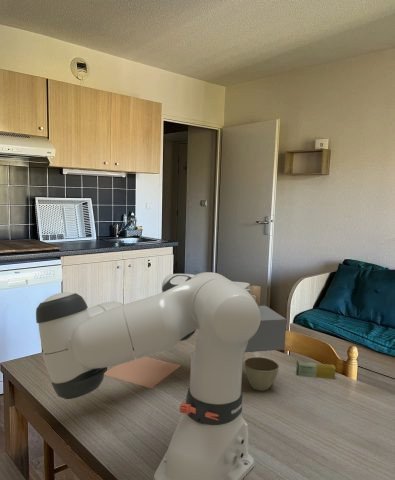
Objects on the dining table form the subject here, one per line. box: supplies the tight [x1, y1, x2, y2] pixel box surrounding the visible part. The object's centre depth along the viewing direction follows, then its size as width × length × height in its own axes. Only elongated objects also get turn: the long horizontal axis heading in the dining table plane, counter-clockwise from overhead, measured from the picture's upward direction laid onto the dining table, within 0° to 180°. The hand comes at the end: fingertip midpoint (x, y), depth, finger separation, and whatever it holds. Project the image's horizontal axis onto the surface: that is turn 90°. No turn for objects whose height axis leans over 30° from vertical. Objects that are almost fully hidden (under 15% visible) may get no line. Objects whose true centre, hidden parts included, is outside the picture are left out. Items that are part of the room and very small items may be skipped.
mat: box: [104, 354, 182, 389], centre depth 125 cm, size 18×18×1 cm
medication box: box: [295, 360, 337, 380], centre depth 126 cm, size 12×3×4 cm, turn 82°
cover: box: [245, 285, 287, 353], centre depth 117 cm, size 14×14×17 cm
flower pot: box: [244, 356, 279, 392], centre depth 117 cm, size 10×10×7 cm
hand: (257, 296), depth 116 cm, fingers closed on cover, 3 cm apart
